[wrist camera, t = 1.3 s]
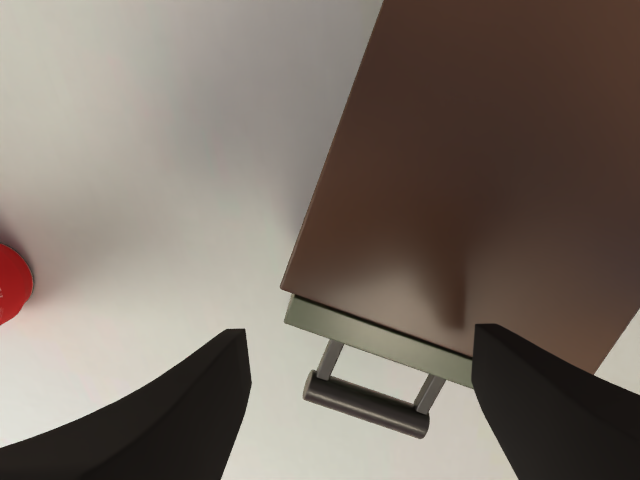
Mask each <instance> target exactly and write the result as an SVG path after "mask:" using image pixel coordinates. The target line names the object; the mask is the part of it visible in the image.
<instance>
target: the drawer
mask: <svg viewBox="0 0 640 480" xmlns="http://www.w3.org/2000/svg"><path fill="white" fill-rule="evenodd" d="M284 323H286V324H289V325H292V326H295V327H297V328H300V329H303V330H306V331H309V332H312V333H315V334H317V335H320V336H323V337H326V338H329V339H330V340H329V343H328V345H327V347H326V350H325V352H324V354H323V357H322V359H321V361H320V364H319V366H318V368H317V371H316V370H311V372H310V373H309V375H308V378H307V381H306V384H305V387H304V391H303V399H304V400H306V401H309V402H312V403H315V404H318V405H321V406H324V407H327V408H330V409H333V410H336V411H339V412H342V413H345V414H348V415H351V416H354V417H357V418H359V419H362V420H365V421H368V422H371V423H374V424H377V425H380V426H383V427H386V428H389V429H392V430H395V431H398V432H401V433H404V434H407V435H410V436H412V437H415V438H418V439H422V438H424V437H425V435H426V433H427V431H428V428H429V422H430V417H429V410H430V408H431V406H432V405H433V403H434V401H435V399H436V397H437V396H438V394H439V392H440V390H441V388H442V387H443V385H444V383H445V381H446V380H449V381H452V382H454V383H457V384H460V385H463V386H466V387H469V388H472V389H474V388H473V385H472V382H471V373H472V359H473V357H470V356H468V355H465V354H462V353H459V352H456V351H454V350H451V349H448V348H445V347H442V346H439V345H437V344H434V343H431V342H428V341H425V340H423V339H420V338H417V337H414V336H411V335H408V334H406V333H403V332H400V331H397V330H394V329H392V328H389V327H386V326H383V325H380V324H378V323H375V322H372V321H369V320H366V319H363V318H361V317H358V316H355V315H352V314H349V313H347V312H344V311H341V310H338V309H335V308H332V307H330V306H327V305H324V304H321V303H318V302H316V301H313V300H310V299H307V298H304V297H301V296H299V295H296V294H293V293H292V295H291V298H290V302H289V305H288V309H287V312H286V316H285V319H284ZM344 344H346V345H349V346H352V347H354V348H357V349H360V350H363V351H366V352H369V353H372V354H374V355H377V356H380V357H383V358H386V359H389V360H392V361H394V362H397V363H400V364H403V365H406V366H409V367H412V368H414V369H417V370H420V371H423V372H426V373H429V375H428V377H427V379H426V381H425V383H424V384H423V386H422V388H421V390H420V392H419V394H418V396H417V397H416V399H415V401H414V404H411V403H408V402H406V401H403V400H400V399H397V398H394V397H391V396H388V395H385V394H382V393H379V392H377V391H374V390H371V389H368V388H365V387H362V386H359V385H356V384H353V383H350V382H348V381H345V380H342V379H339V378H336V377H333V376H330V375H331V373H332V371H333V368H334V366H335V364H336V362H337V359H338V357H339V355H340V352H341V350H342V348H343V346H344Z"/></svg>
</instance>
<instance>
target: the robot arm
mask: <svg viewBox="0 0 640 480" xmlns="http://www.w3.org/2000/svg"><path fill="white" fill-rule="evenodd" d="M471 382H472V385H473V388H474V391H475V393H476V396H477V399H478V401H479V404H480V407H481V409H482V411H483V413H484V415H485V417H486V419H487V421H488V423H489V425H490V427H491V429H492V431H493V433H494V435H495V436H496V438H497V440H498V442H499V444H500V446H501V448H502V449H503V451H504V453H505V455H506V457H507V459H508V461H509V462H510V464H511V466H512V468H513V470H514V472H515V474H516V476H517V477H518V479H519V480H640V395H638V394H635V393H633V392H631V391H628V390H626V389H624V388H621V387H619V386H617V385H614V384H612V383H610V382H607V381H605V380H603V379H601V378H599V377H596V376H594V375H592V374H590V373H588V372H586V371H584V370H582V369H580V368H578V367H576V366H574V365H572V364H570V363H568V362H566V361H564V360H562V359H561V358H559V357H557V356H555V355H553V354H551V353H550V352H548V351H546V350H544V349H542V348H540V347H539V346H537V345H535V344H533V343H532V342H530V341H528V340H526V339H525V338H523V337H521V336H519V335H517V334H516V333H514V332H512V331H510V330H508V329H506V328H505V327H503V326H501V325H498V324H496V323H484V324H475V331H474V345H473V359H472V373H471ZM251 385H252V381H251V373H250V365H249V356H248V348H247V340H246V331H245V329H226V330H224V331H223V332H221V333H220V334H218V335H217V336H216V337H214V338H213V339H211V340H210V341H209V342H207V343H206V344H205V345H203V346H202V347H201V348H199V349H198V350H197V351H195V352H194V353H193V354H191V355H190V356H189V357H187V358H186V359H185V360H183V361H182V362H180V363H179V364H177V365H176V366H174V367H173V368H171V369H170V370H168V371H167V372H165V373H164V374H162V375H161V376H159V377H158V378H156V379H155V380H153V381H152V382H150V383H148V384H147V385H145V386H143V387H142V388H140V389H138V390H136V391H134V392H133V393H131V394H129V395H127V396H125V397H124V398H122V399H120V400H118V401H116V402H114V403H112V404H110V405H107V406H105V407H103V408H101V409H99V410H97V411H95V412H93V413H91V414H89V415H86V416H84V417H82V418H80V419H78V420H75V421H73V422H70V423H68V424H66V425H63V426H61V427H58V428H56V429H53V430H50V431H48V432H45V433H43V434H40V435H37V436H35V437H32V438H29V439H26V440H23V441H20V442H17V443H14V444H11V445H8V446H5V447H2V448H0V480H221V477H222V475H223V472H224V469H225V467H226V464H227V461H228V458H229V456H230V453H231V450H232V448H233V445H234V442H235V440H236V437H237V434H238V431H239V429H240V426H241V423H242V420H243V417H244V415H245V411H246V407H247V403H248V399H249V394H250V389H251Z"/></svg>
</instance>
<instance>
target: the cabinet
mask: <svg viewBox="0 0 640 480" xmlns="http://www.w3.org/2000/svg"><path fill="white" fill-rule="evenodd" d="M280 289H282V290H285V291H287V292H290V293H293V294H296V295H299V296H301V297H304V298H307V299H310V300H313V301H316V302H318V303H321V304H324V305H327V306H330V307H332V308H335V309H338V310H341V311H344V312H347V313H349V314H352V315H355V316H358V317H361V318H363V319H366V320H369V321H372V322H375V323H378V324H380V325H383V326H386V327H389V328H392V329H394V330H397V331H400V332H403V333H406V334H408V335H411V336H414V337H417V338H420V339H423V340H425V341H428V342H431V343H434V344H437V345H439V346H442V347H445V348H448V349H451V350H454V351H456V352H459V353H462V354H465V355H468V356H470V357H473V345H474V331H475V324H484V323H496V324H498V325H501V326H503V327H505V328H506V329H508V330H510V331H512V332H514V333H516V334H517V335H519V336H521V337H523V338H525V339H526V340H528V341H530V342H532V343H533V344H535V345H537V346H539V347H540V348H542V349H544V350H546V351H548V352H550V353H551V354H553V355H555V356H557V357H559V358H561V359H562V360H564V361H566V362H568V363H570V364H572V365H574V366H576V367H578V368H580V369H582V370H584V371H586V372H588V373H590V374H592V375H594V373H595V372H596V370H597V369H598V368H599V366H600V365H601V363H602V362H603V360H604V359H605V357H606V356H607V355H608V353H609V352H610V350H611V349H612V347H613V346H614V344H615V343H616V342H617V340H618V339H619V337H620V336H621V334H622V333H623V332H624V330H625V329H626V327H627V326H628V324H629V323H630V321H631V320H632V319H633V317H634V316H635V314H636V313H637V311H638V310H639V308H640V0H384V1H383V3H382V6H381V9H380V12H379V14H378V17H377V20H376V23H375V25H374V28H373V31H372V34H371V36H370V39H369V42H368V45H367V48H366V50H365V53H364V56H363V59H362V61H361V64H360V67H359V70H358V72H357V75H356V78H355V81H354V83H353V86H352V89H351V92H350V94H349V97H348V100H347V103H346V105H345V108H344V111H343V114H342V116H341V119H340V122H339V125H338V127H337V130H336V133H335V136H334V138H333V141H332V144H331V147H330V149H329V152H328V155H327V158H326V160H325V163H324V166H323V169H322V171H321V174H320V177H319V180H318V182H317V185H316V188H315V191H314V194H313V196H312V199H311V202H310V205H309V207H308V210H307V213H306V216H305V218H304V221H303V224H302V227H301V229H300V232H299V235H298V238H297V240H296V243H295V246H294V249H293V251H292V254H291V257H290V260H289V262H288V265H287V268H286V271H285V273H284V276H283V279H282V282H281V284H280Z"/></svg>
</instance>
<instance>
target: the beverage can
mask: <svg viewBox="0 0 640 480" xmlns="http://www.w3.org/2000/svg"><path fill="white" fill-rule="evenodd" d="M33 287H34V281H33V275H32V272H31V270H30V267H29V266H28V264H27V262H26V261H25V260H24V259H23V257H22V256H21V255H20V254H19V253H18V252H16V251H15V250H14V249H12V248H11V247H9V246H7V245H5V244H2V243H0V325H1V324H3V323H5V322H7V321H8V320H10V319H12V318H13V317H15V316H16V315H17V314H18V313H19V311H20V310H21V308H22V307H23V305H24V303H25V302H27V301H28V299H29V298H30V296H31V294H32V292H33Z"/></svg>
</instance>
